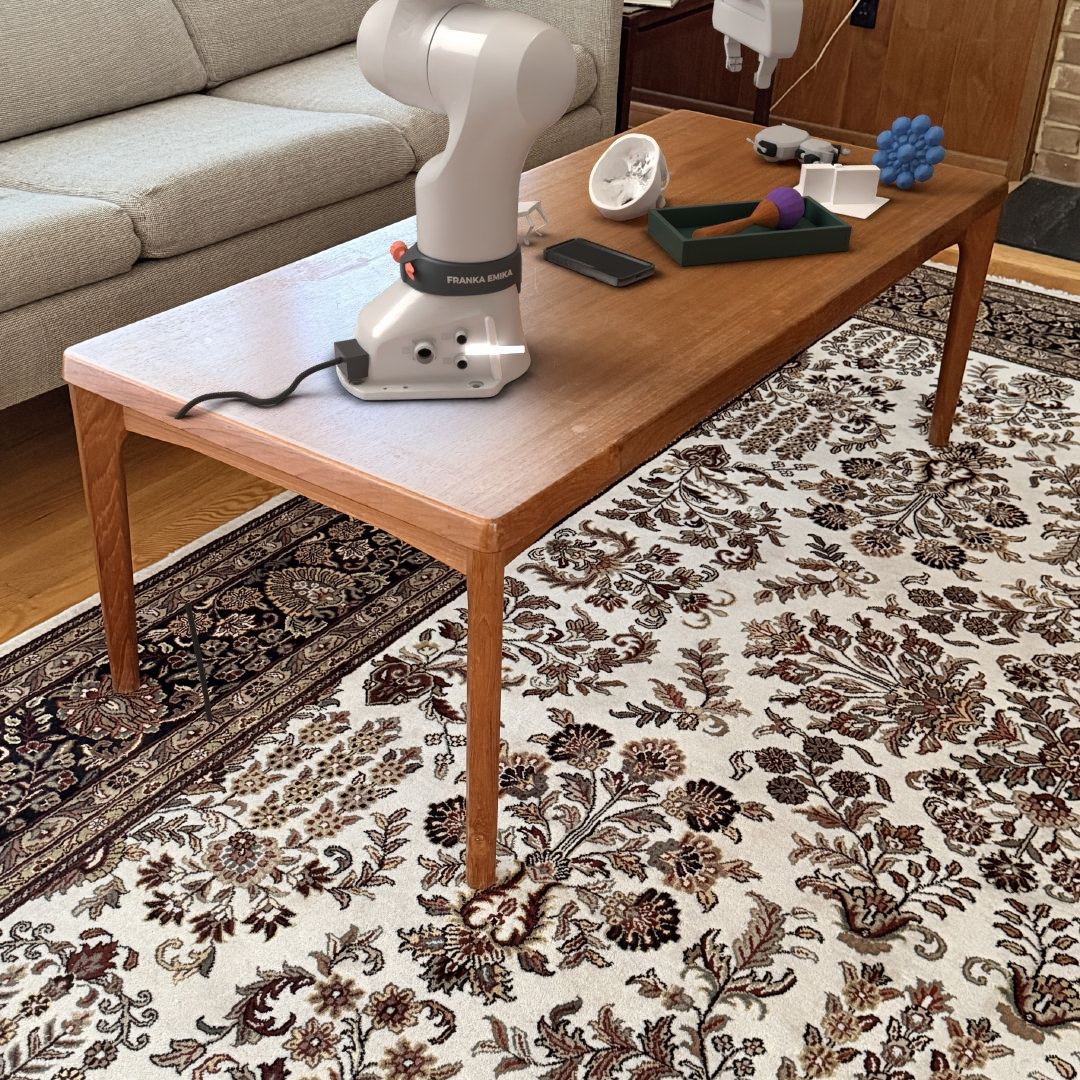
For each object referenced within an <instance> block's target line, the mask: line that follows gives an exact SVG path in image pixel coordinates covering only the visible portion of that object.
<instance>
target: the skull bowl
mask: <svg viewBox="0 0 1080 1080" xmlns="http://www.w3.org/2000/svg"><path fill="white" fill-rule="evenodd" d="M670 175H671V174H670V172H669V169H668V165H667V159H666V157H665V155H664V154H663V151H662V150H661V147H660V146H659V144H658V142H657V141H656V140H655V139H654V138H653V137H652V136H650V135H647V134H641V133H628V134H625V135H623V136H621V137H618V138H617V139H616V140H614V141H613V142H612V144H611V145H610V146H609V147H608V148H607V149H606V150H605V151H604V153H602V155H601V156H600V157H599V159H598V160H597V161H596V163H595V164H594V166H593V168H592V170H591V172H590V176H589V180H588V181H589V182H588V194H589V197H590V200H591V203H592V204H593V205H594V207H595V208H596V209H597V211H598V212H599V213H601V214H602V216H603V217H605V218H607V219H610V220H612V221H617V222H623V221H628V220H632V219H637V218H639V217H642V216H644V215H649V209H655V208H665V206H666V198H665V196H664V193H665V192H666V190H667V188H668V187H669V186H668V185H669V183H670V180H671V176H670ZM664 180H666V181H665V184H664ZM629 200H630V201H629ZM627 201H628V202H627Z"/></svg>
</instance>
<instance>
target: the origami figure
mask: <svg viewBox="0 0 1080 1080" xmlns="http://www.w3.org/2000/svg"><path fill="white" fill-rule="evenodd" d="M535 210H536V211H537V212H538V214H539V215H540V217H541V218H542V220H543V221H544V222H545V223H543V224H542V225H540V226H539V227H537V228H535V230H534V232H535V234H537V236H539V237H542V236H543V234H542V233H541V232H540V231H539V230H540V229H542V228H544V227H546V226H547V225H549V224H550V223H551V222H550V220H549V218H548V216H547V214H546V212H545V211H544V209H543V207H542V201H540V200H534V201H533V200H531V201H518V219H519V218H523V217H525V219H526V220H527V223H528V224H529V228H528V230H527V232H526V234H525V236H524V238H523V241H524V244H525V246H529V245H530V242H529V240H528V237H529V236H530V233H531V232H532V231H533V229H534V227H535V226H536V224H535V223H534V221H533V220H532V218H531V217H530V214H531V213H533V212H534V211H535Z"/></svg>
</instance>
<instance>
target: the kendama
mask: <svg viewBox="0 0 1080 1080" xmlns="http://www.w3.org/2000/svg"><path fill="white" fill-rule="evenodd" d="M793 188H794V187H790V186H785V185H784V186H779V187H777V188H773V190H771V191H770V192H769V193H768V194H767V195H766V197H765V198H764V199H762V200H763V201H761V202H760V203H759V205H758V206H757V208H756V209H755V211H754V212H753V213H752V215H751V216H750V217H749V218H744V219H740V220H736V221H731V222H727V223H723V224H719V225H714V226H710V227H706V228H702V229H697V230H695V231H694V232H693V235H692V238H703V237H715V236H726V235H735V234H737V233H739V232H741V231H742V230H744V229H746V228H747V227H749V226H751V225H756V226H761V227H765V228H774V227H775V228H778V229H787V228H790V227H793V226H794V225H796V224H797V223H798V222H799V221H800V219H801V218H802V216H803V214H804V208H805V205H804V201H803V198H802V196H801V194H800V193H799V192H798V191H797V190H796V189H793Z"/></svg>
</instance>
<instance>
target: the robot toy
mask: <svg viewBox="0 0 1080 1080" xmlns="http://www.w3.org/2000/svg"><path fill="white" fill-rule="evenodd" d="M745 139H746V141H747V142H749V143H751V144H752V145H753V150H754V151H755V152H756V154H757V155H759V156H762V157H763V158H764V159H765V160H766V161H767V162H770V163H776V162H779V161H787V160H788V161H789V160H793V159H797V160H798V163H800V164H831V165H832V166H834V164H838V162H839V160H840V156H841V155H842V156H844V157H849V156H851V151H852V150H850V149H849V148H842V147H843V146H842V145H841V144H835V143H831V142H830V141H826V140H823V139H818V138H814V137H813V138H812V137H811V135H810V134H809V132H808V131H806V130H803V129H800V128H796V127H794V126H791V125H787V124H785V123H781V125H774V126H769V127H766V128H764V129H762V130H760V131H759V132H758V133H756V135H755V137H754V141H753V140H752V139H751V138H749V137H746V138H745Z"/></svg>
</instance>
